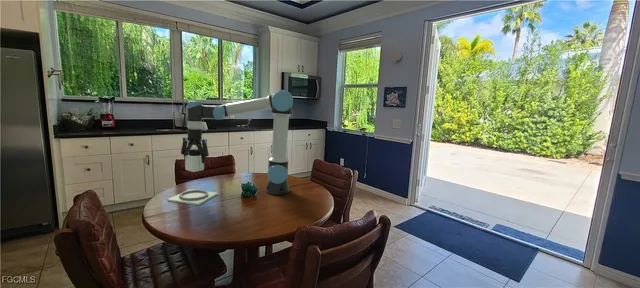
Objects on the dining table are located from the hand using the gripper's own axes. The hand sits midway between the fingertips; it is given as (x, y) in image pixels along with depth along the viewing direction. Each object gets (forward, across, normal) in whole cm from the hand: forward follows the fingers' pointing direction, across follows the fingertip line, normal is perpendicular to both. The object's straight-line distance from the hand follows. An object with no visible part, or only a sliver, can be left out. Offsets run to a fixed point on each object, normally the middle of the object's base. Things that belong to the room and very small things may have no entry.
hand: (194, 167), depth 155 cm
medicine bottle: (+2, 0, 0) cm, 2 cm away
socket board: (+18, 0, 0) cm, 18 cm away
